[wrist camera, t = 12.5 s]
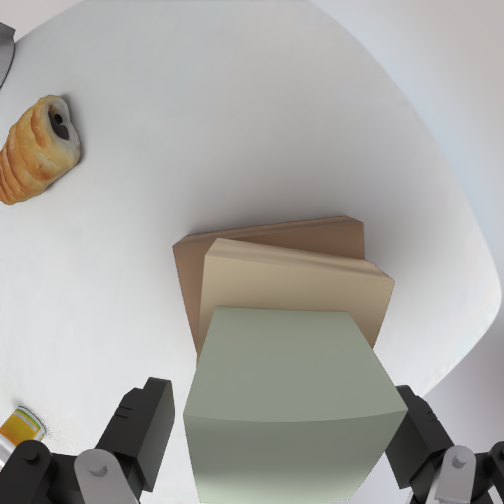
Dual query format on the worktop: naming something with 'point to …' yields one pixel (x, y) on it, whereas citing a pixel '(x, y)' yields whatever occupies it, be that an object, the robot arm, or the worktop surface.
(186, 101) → the worktop surface
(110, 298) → the worktop surface
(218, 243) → the block top
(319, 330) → the sage block
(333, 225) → the block bottom
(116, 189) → the worktop surface
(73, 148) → the pastry
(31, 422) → the supplement bottle
